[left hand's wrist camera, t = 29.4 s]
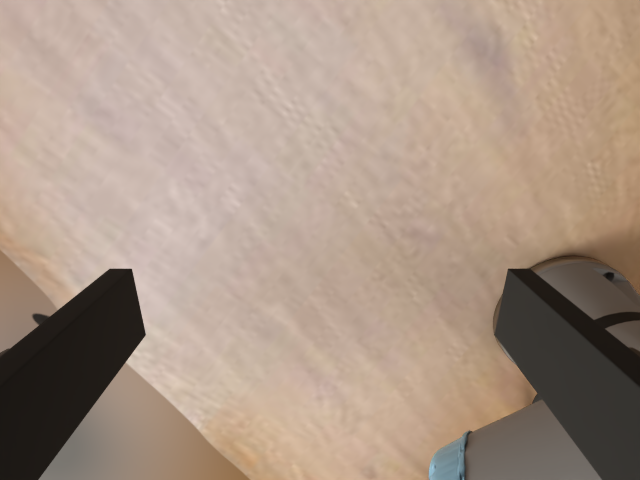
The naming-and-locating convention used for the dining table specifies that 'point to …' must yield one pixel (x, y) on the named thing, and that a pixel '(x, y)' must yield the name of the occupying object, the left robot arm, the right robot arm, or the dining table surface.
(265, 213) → the dining table surface
